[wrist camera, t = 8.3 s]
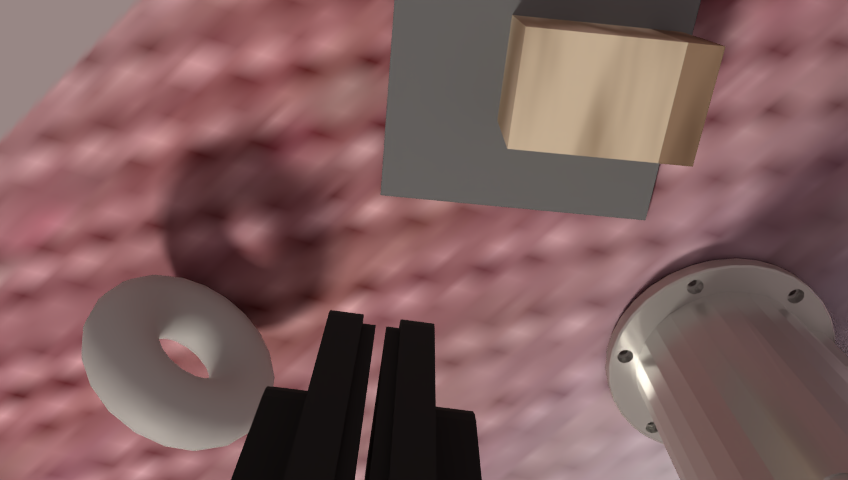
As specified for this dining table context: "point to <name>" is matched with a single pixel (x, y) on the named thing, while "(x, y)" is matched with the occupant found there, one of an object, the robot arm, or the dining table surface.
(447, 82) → the mat
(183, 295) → the donut
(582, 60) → the tall block
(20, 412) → the dining table surface
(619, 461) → the dining table surface
